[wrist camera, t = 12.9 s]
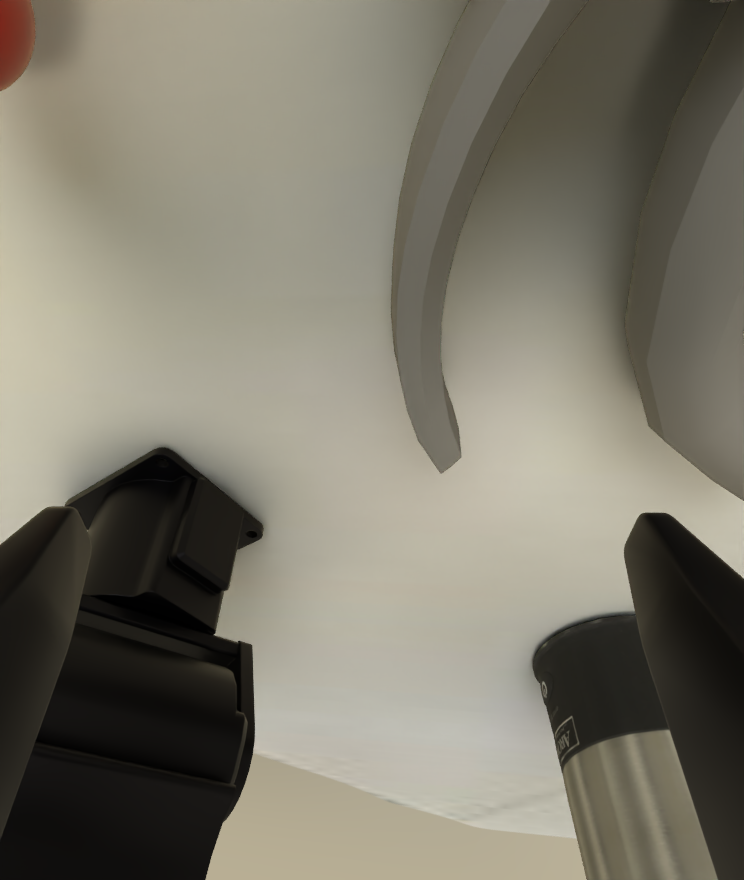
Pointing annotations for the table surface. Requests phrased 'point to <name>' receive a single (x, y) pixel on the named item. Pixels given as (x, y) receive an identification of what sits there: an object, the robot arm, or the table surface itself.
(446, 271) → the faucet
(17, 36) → the tap lever
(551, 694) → the milk frother
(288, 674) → the table surface
